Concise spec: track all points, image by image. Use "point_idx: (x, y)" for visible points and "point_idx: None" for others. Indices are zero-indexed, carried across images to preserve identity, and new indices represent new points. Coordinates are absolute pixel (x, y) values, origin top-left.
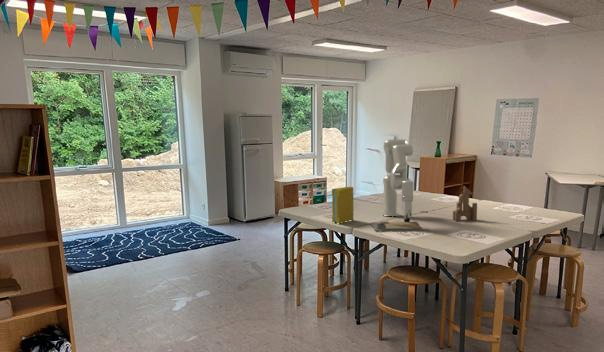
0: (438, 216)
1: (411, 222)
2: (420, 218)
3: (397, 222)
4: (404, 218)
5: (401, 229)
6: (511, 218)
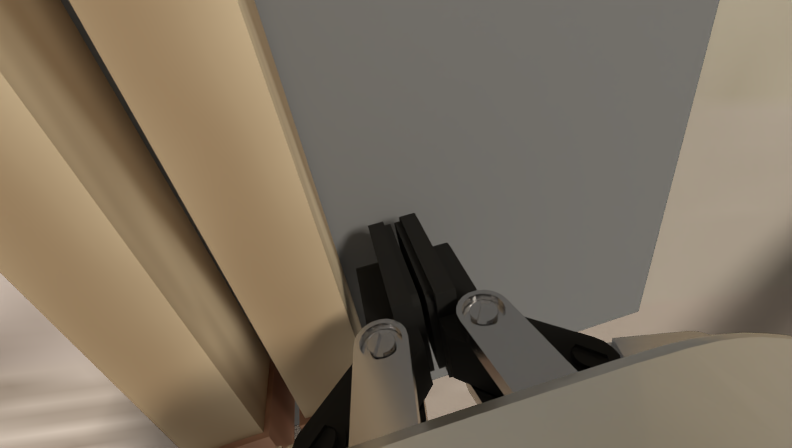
0: None
1: (318, 385)
2: (781, 320)
3: (196, 61)
4: (479, 293)
5: None
6: None
